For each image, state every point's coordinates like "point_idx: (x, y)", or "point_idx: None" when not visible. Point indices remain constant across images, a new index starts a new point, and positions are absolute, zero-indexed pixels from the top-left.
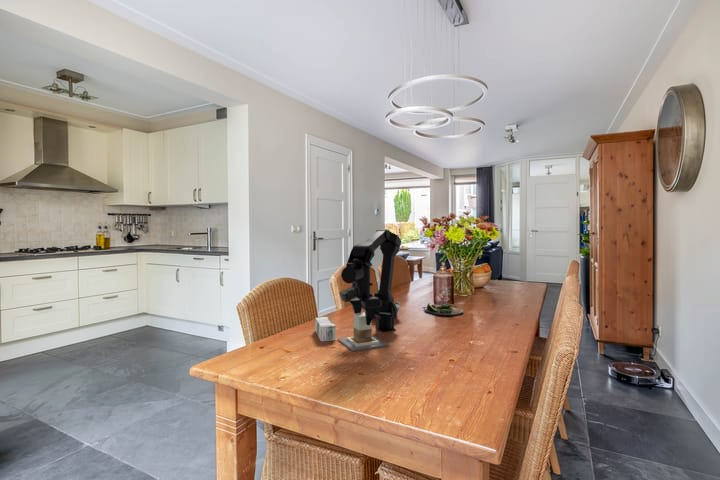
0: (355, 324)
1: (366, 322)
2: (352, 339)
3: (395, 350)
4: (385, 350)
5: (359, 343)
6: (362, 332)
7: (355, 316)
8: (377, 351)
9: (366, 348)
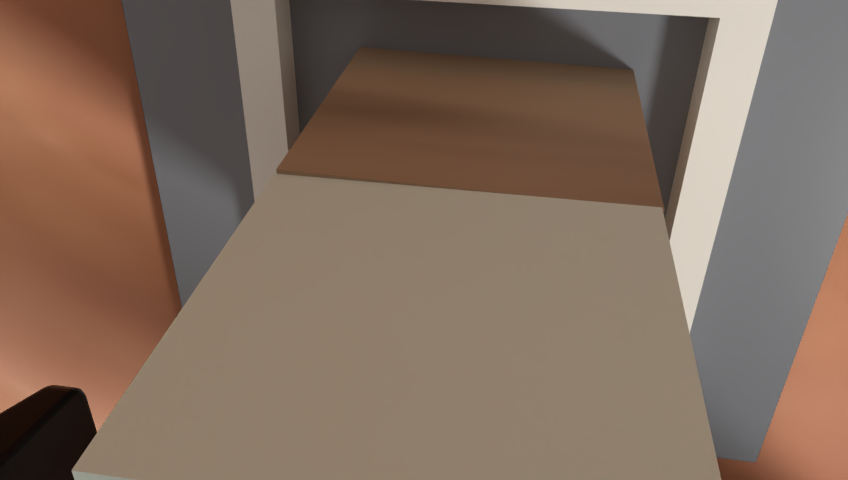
0: (518, 255)
1: (2, 427)
2: (699, 75)
3: (33, 351)
4: (55, 262)
5: (267, 27)
6: None
7: (490, 456)
8: (34, 157)
9: (138, 63)
